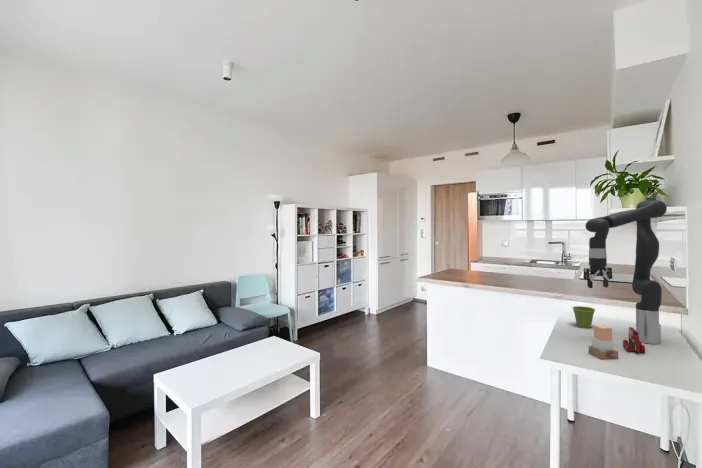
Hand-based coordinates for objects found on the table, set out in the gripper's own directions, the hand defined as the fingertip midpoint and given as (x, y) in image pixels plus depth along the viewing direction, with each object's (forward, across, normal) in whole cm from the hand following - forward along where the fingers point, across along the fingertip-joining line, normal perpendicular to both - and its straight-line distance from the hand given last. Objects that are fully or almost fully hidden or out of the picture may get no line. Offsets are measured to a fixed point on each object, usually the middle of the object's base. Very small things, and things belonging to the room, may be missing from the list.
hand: (597, 287), depth 173 cm
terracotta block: (+22, +10, +14) cm, 28 cm away
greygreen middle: (+26, +10, +14) cm, 32 cm away
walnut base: (+30, +10, +14) cm, 35 cm away
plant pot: (+30, -16, -29) cm, 45 cm away
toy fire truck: (+30, -10, +10) cm, 34 cm away
